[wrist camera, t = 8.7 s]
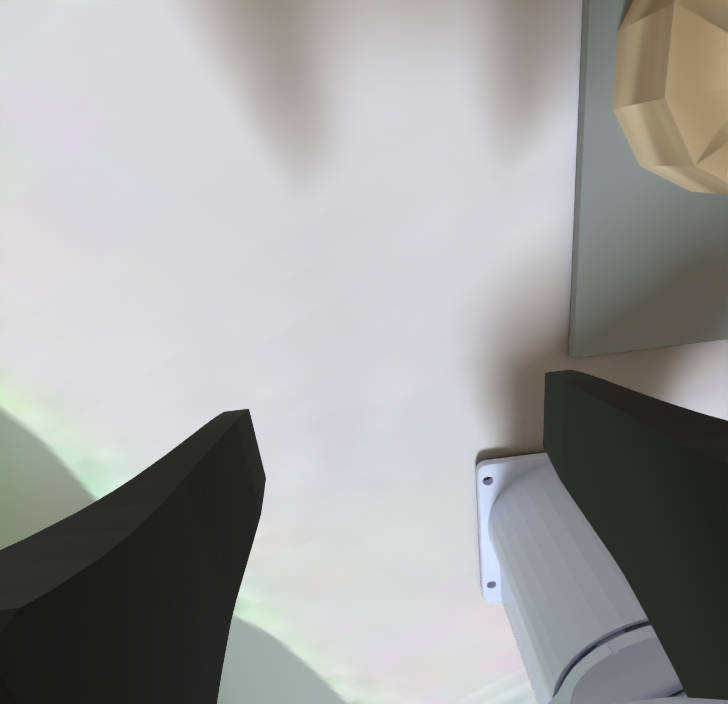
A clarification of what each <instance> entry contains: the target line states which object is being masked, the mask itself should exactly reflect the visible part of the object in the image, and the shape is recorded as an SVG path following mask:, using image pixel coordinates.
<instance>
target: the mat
mask: <svg viewBox="0 0 728 704" xmlns="http://www.w3.org/2000/svg"><path fill="white" fill-rule="evenodd" d="M632 2H633V0H583V16H582V40H581V64H580V89H579V113H578V137H577V162H576V186H575V210H574V234H573V259H572V283H571V307H570V332H569V355H570V356H571V357H572V358H573V359H574V358H582V357H590V356H598V355H606V354H613V353H621V352H629V351H637V350H645V349H652V348H660V347H668V346H676V345H684V344H691V343H699V342H707V341H715V340H723V339H728V194H715V193H700V192H690V191H688V190H686V189H684V188H682V187H680V186H678V185H676V184H674V183H672V182H670V181H668V180H666V179H664V178H662V177H660V176H658V175H656V174H654V173H653V172H651V171H649V170H647V169H645V168H643V167H641V166H640V165H639V163H638V161H637V159H636V157H635V155H634V153H633V151H632V149H631V147H630V145H629V143H628V141H627V139H626V137H625V134H624V132H623V130H622V128H621V126H620V124H619V122H618V120H617V118H616V116H615V114H614V112H613V110H612V105H613V90H614V75H615V60H616V44H617V32H618V29H619V27H620V25H621V23H622V22H623V20H624V18H625V16H626V14H627V12H628V10H629V8H630V6H631V4H632Z"/></svg>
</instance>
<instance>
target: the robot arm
mask: <svg viewBox="0 0 728 704" xmlns="http://www.w3.org/2000/svg"><path fill="white" fill-rule="evenodd" d="M543 446H544V448H545V450H546V453H538V454H530V455H522V456H514V457H506V458H498V459H490V460H484V461H481V462H480V463H478V465H477V466H476V486H477V508H478V530H479V552H480V574H481V594H482V597H483V600H484V601H485V602H486V603H489V604H494V603H503V606H504V609H505V611H506V614H507V617H508V620H509V623H510V626H511V629H512V632H513V634H514V637H515V640H516V643H517V646H518V649H519V652H520V654H521V657H522V660H523V663H524V666H525V669H526V672H527V674H528V677H529V680H530V683H531V686H532V689H533V692H534V694H535V697H536V700H537V703H538V704H728V421H726V420H723V419H719V418H715V417H712V416H708V415H705V414H702V413H698V412H695V411H692V410H689V409H686V408H683V407H679V406H676V405H673V404H670V403H667V402H664V401H661V400H658V399H655V398H653V397H650V396H647V395H644V394H641V393H639V392H636V391H633V390H630V389H628V388H625V387H622V386H619V385H617V384H614V383H611V382H608V381H606V380H603V379H600V378H597V377H594V376H591V375H588V374H585V373H582V372H578V371H574V370H565V371H557V372H549V373H545V401H544V435H543ZM485 477H491V478H490V479H489V480H483V479H484V478H485ZM265 481H266V477H265V473H264V469H263V465H262V461H261V457H260V452H259V448H258V444H257V440H256V436H255V432H254V428H253V424H252V420H251V416H250V412H249V409H244V410H235V411H227V412H223V413H221V414H220V415H218V416H217V417H215V418H214V419H212V420H211V421H210V422H208V423H207V424H206V425H204V426H203V427H202V428H200V429H199V430H198V431H196V432H195V433H194V434H193V435H191V436H190V437H189V438H187V439H186V440H185V441H183V442H182V443H181V444H180V445H178V446H177V447H176V448H174V449H173V450H172V451H170V452H169V453H168V454H167V455H165V456H164V457H162V458H161V459H159V460H158V461H157V462H155V463H154V464H152V465H151V466H150V467H148V468H147V469H145V470H144V471H143V472H141V473H140V474H138V475H137V476H136V477H134V478H133V479H131V480H130V481H128V482H127V483H125V484H124V485H122V486H121V487H119V488H117V489H116V490H114V491H113V492H111V493H109V494H108V495H106V496H104V497H103V498H101V499H99V500H98V501H96V502H94V503H93V504H91V505H89V506H87V507H86V508H84V509H82V510H81V511H78V512H77V513H75V514H73V515H71V516H69V517H67V518H65V519H63V520H61V521H59V522H57V523H55V524H53V525H51V526H50V527H47V528H45V529H43V530H42V531H40V532H38V533H36V534H34V535H32V536H30V537H28V538H26V539H24V540H21V541H19V542H17V543H15V544H13V545H11V546H8V547H6V548H4V549H2V550H0V704H217V698H218V692H219V686H220V680H221V674H222V668H223V662H224V657H225V651H226V646H227V640H228V635H229V629H230V624H231V619H232V615H233V611H234V607H235V603H236V599H237V596H238V592H239V589H240V585H241V582H242V578H243V575H244V572H245V568H246V565H247V561H248V558H249V554H250V551H251V548H252V544H253V541H254V537H255V534H256V530H257V527H258V523H259V519H260V515H261V510H262V503H263V496H264V489H265ZM491 581H492V582H491Z"/></svg>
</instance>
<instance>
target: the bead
mask: <svg viewBox="0 0 728 704" xmlns="http://www.w3.org/2000/svg"><path fill="white" fill-rule="evenodd" d="M612 110H613V112H614V114H615V116H616V118H617V120H618V122H619V124H620V126H621V128H622V130H623V132H624V134H625V137H626V139H627V141H628V143H629V145H630V147H631V149H632V151H633V153H634V155H635V157H636V159H637V161H638V163H639V165H640V166H641V167H643V168H645V169H647V170H649V171H651V172H653V173H654V174H656V175H658V176H660V177H662V178H664V179H666V180H668V181H670V182H672V183H674V184H676V185H678V186H680V187H682V188H684V189H686V190H688V191H690V192H700V193H715V194H728V0H633V2H632V4H631V6H630V8H629V10H628V12H627V14H626V16H625V18H624V20H623V22H622V23H621V25H620V27H619V29H618V32H617V44H616V60H615V75H614V90H613V105H612Z"/></svg>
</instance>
